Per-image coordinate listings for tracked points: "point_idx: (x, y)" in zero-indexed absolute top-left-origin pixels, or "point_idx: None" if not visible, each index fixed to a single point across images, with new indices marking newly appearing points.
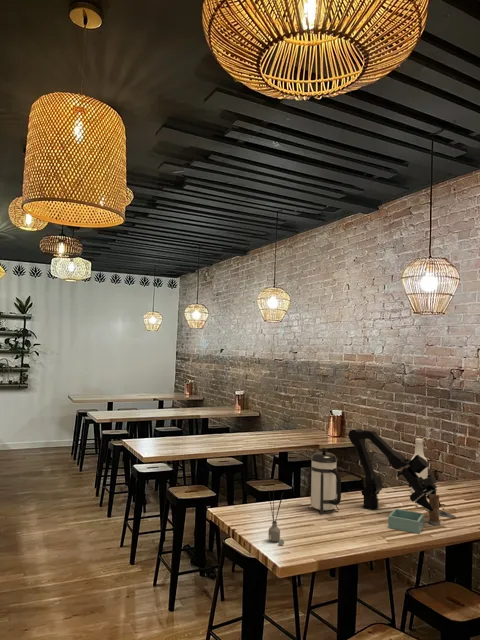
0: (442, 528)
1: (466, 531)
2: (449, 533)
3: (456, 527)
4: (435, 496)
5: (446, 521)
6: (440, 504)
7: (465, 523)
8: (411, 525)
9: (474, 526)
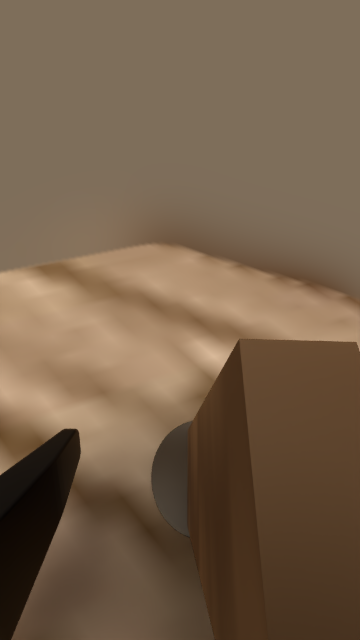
0: None
1: (186, 267)
2: (301, 320)
3: (157, 323)
4: (356, 436)
5: (67, 415)
6: (58, 438)
7: (34, 306)
8: None
9: (64, 260)
